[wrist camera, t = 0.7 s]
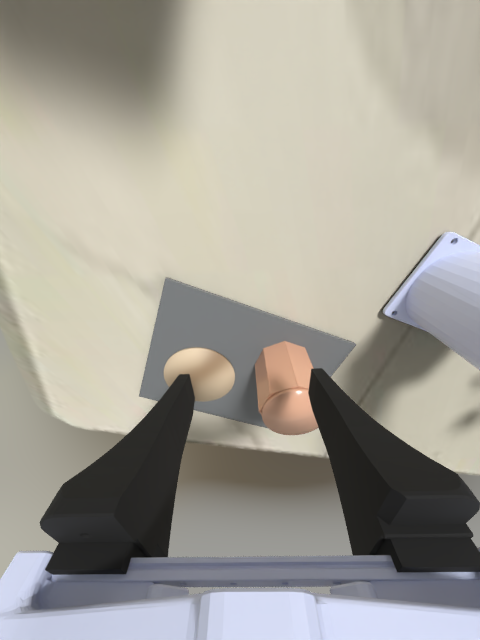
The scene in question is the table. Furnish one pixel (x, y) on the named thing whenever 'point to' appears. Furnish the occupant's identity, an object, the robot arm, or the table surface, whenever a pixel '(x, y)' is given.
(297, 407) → the cup
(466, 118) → the table surface
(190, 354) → the coaster
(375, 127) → the table surface
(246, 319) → the placemat
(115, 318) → the table surface
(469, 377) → the table surface
